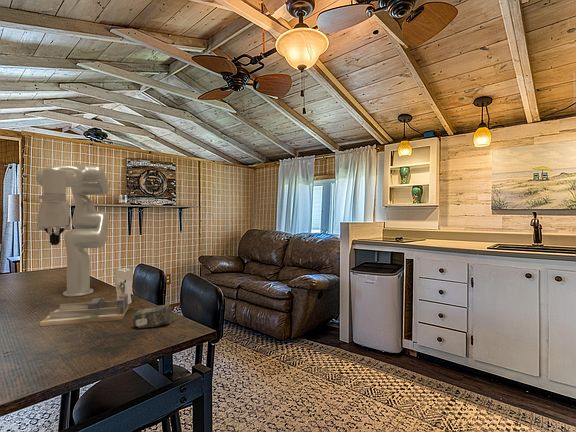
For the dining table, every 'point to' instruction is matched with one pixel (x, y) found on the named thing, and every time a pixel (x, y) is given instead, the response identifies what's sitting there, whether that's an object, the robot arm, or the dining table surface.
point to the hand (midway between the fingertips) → (54, 244)
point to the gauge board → (87, 313)
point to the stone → (153, 316)
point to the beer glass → (124, 282)
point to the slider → (96, 303)
